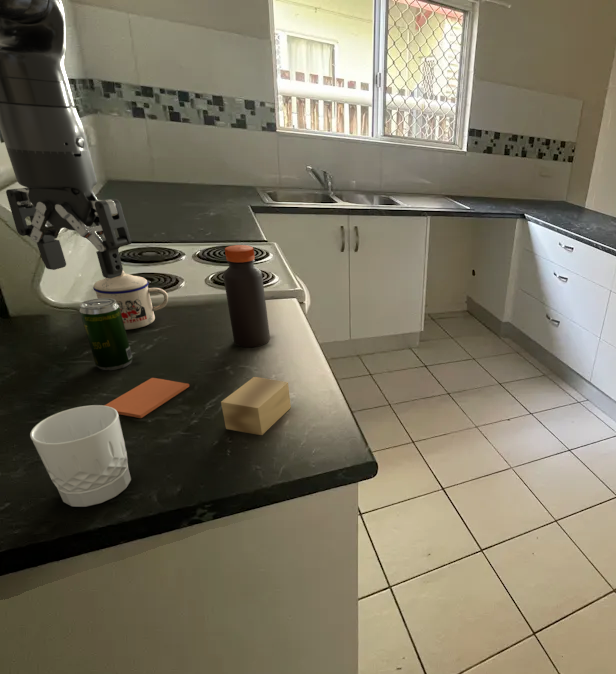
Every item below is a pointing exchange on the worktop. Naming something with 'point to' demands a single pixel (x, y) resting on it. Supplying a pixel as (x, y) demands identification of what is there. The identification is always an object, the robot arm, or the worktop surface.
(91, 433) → the white cup
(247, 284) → the bottle
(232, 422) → the beech block
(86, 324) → the beer can
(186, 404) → the worktop surface
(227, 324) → the worktop surface
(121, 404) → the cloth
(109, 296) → the teacup with lid
